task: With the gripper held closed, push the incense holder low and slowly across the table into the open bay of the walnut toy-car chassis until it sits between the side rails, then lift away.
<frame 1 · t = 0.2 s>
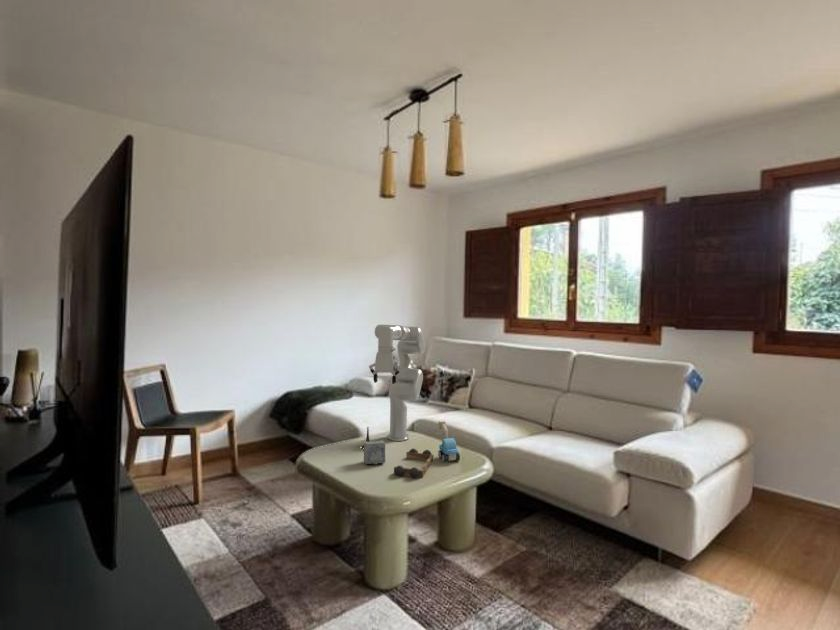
hand: (384, 382, 236), 36 cm above the table, tool pointing down, fingers open, 9 cm apart
eiffel tower figurine: (368, 449, 243), on the table
chassis bay: (411, 466, 218), on the table
toy excavator: (446, 457, 232), on the table
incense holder: (374, 462, 223), on the table
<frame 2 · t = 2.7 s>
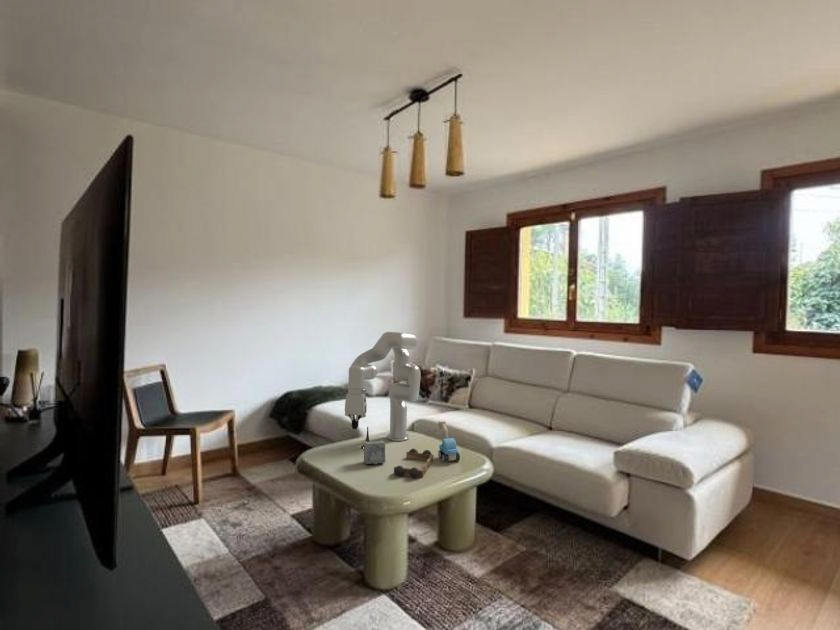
hand: (354, 428, 224), 16 cm above the table, tool pointing down, fingers closed
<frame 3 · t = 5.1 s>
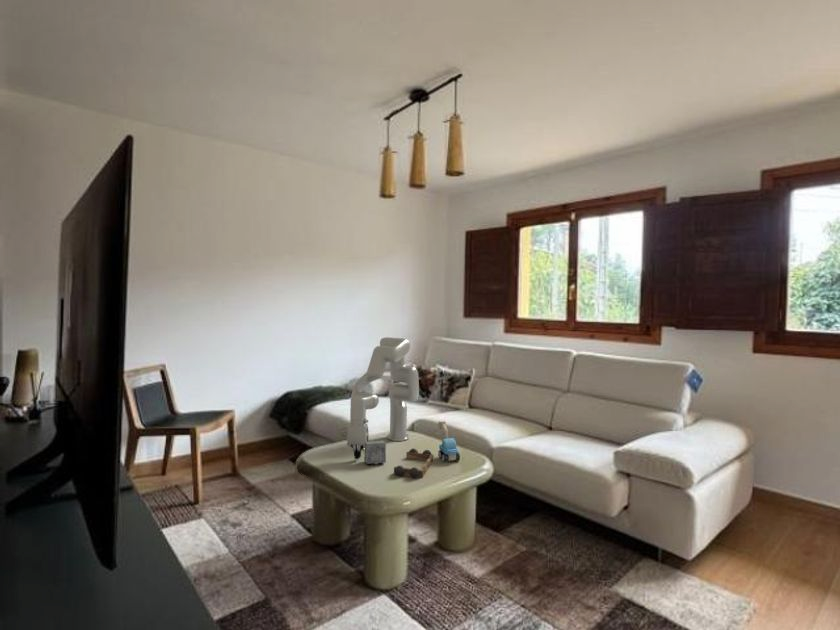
hand: (357, 458, 225), 1 cm above the table, tool pointing down, fingers closed
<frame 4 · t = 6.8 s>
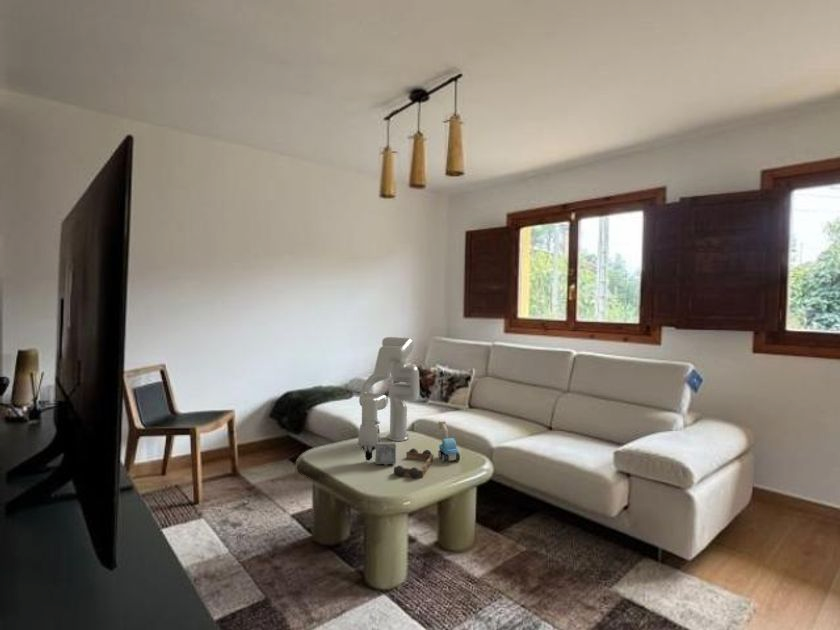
hand: (368, 459, 223), 1 cm above the table, tool pointing down, fingers closed
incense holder: (385, 463, 222), on the table, touching gripper
everything else where it was.
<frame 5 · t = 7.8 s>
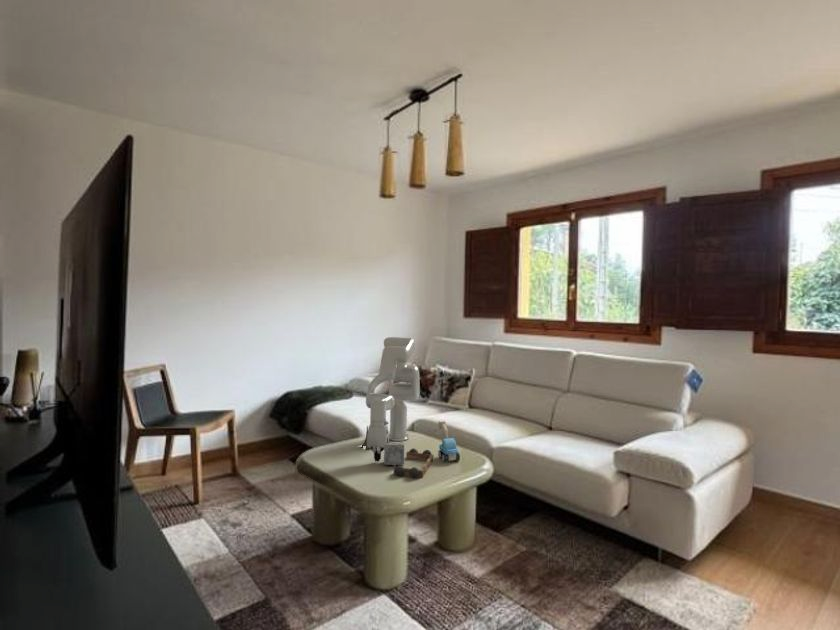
hand: (377, 460, 222), 1 cm above the table, tool pointing down, fingers closed
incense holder: (394, 464, 221), on the table, touching gripper
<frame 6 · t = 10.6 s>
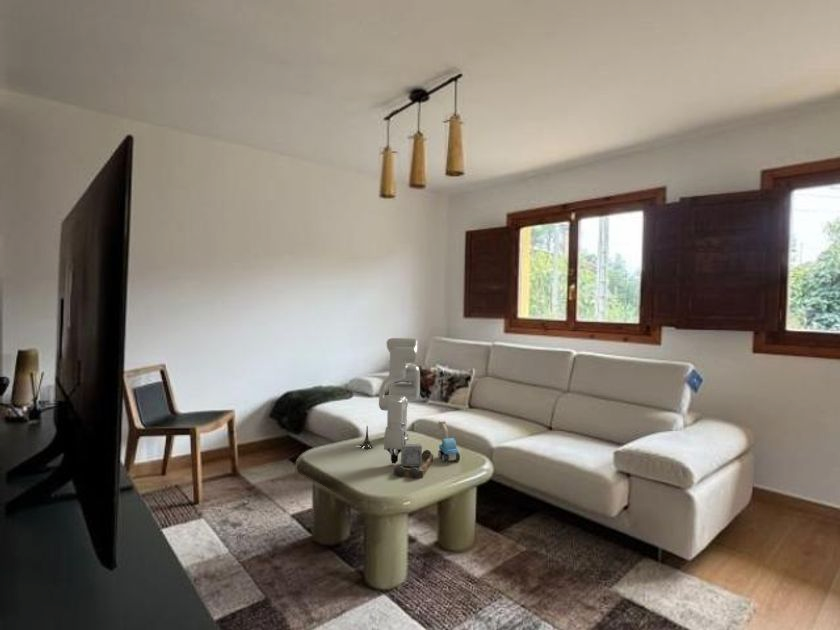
hand: (394, 462, 220), 1 cm above the table, tool pointing down, fingers closed
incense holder: (411, 465, 220), on the table, touching gripper
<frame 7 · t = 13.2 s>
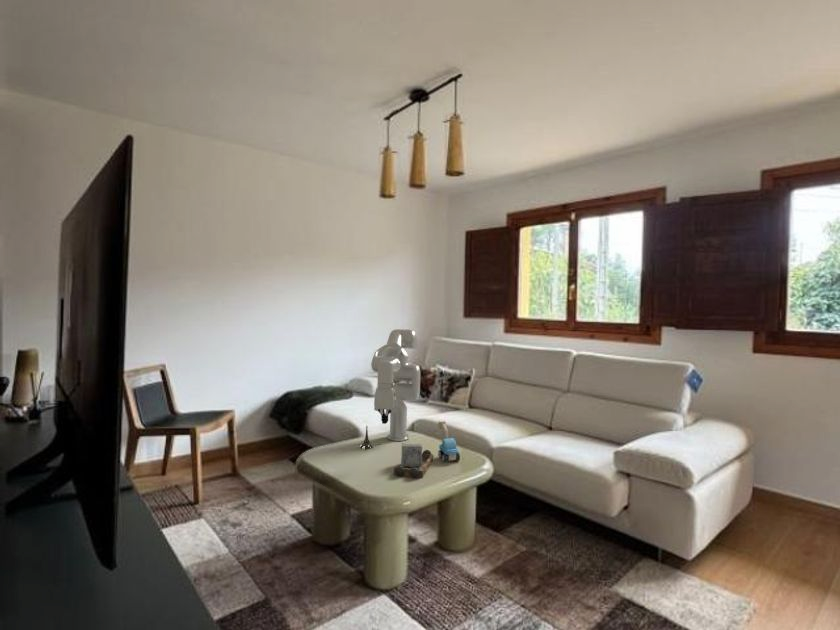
hand: (384, 422, 221), 20 cm above the table, tool pointing down, fingers closed
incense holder: (411, 465, 220), on the table
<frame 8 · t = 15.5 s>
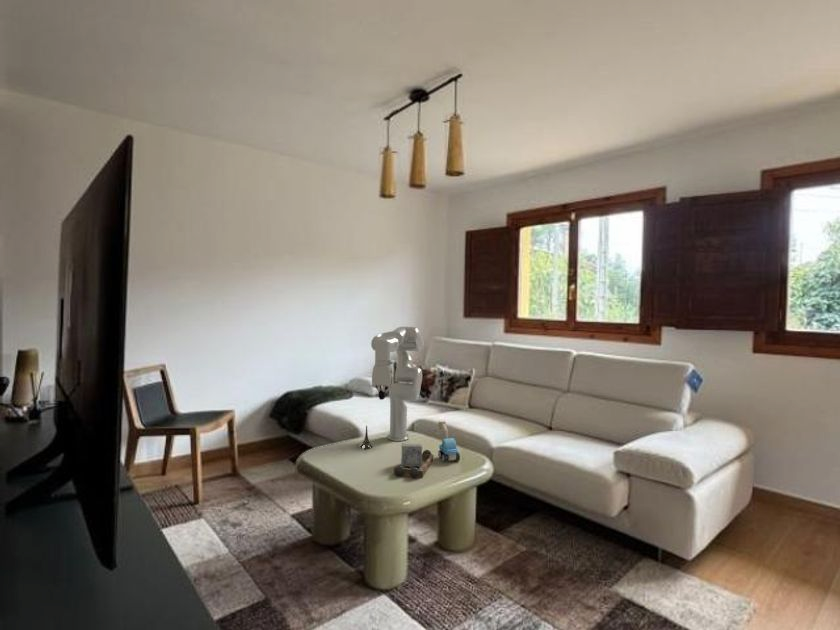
hand: (381, 398, 231), 29 cm above the table, tool pointing down, fingers closed
at the end: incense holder inside the target area on the chassis bay (2.7 cm from its centre), point 0.0 cm above the chassis bay's base; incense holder tilted 0°; the gripper is holding nothing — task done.
